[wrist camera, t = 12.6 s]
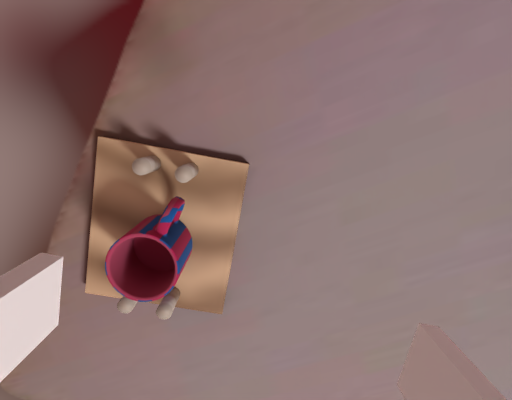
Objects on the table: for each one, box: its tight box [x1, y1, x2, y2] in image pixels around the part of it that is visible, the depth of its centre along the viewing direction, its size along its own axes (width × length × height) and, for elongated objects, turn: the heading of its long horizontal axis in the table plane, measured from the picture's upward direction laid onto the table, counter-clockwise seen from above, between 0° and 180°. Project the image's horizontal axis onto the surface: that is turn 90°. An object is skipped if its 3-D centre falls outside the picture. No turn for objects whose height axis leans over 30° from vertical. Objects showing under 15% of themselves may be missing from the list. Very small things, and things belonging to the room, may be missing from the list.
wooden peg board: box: [85, 136, 249, 319], centre depth 33 cm, size 18×16×5 cm
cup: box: [105, 196, 192, 302], centre depth 31 cm, size 7×10×7 cm
